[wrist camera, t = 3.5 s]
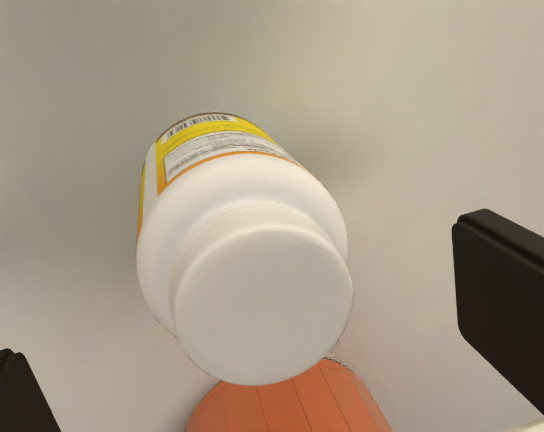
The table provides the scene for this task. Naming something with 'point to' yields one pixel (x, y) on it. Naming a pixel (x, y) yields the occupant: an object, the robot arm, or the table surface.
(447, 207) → the table surface
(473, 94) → the table surface
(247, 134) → the supplement bottle
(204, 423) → the cup
